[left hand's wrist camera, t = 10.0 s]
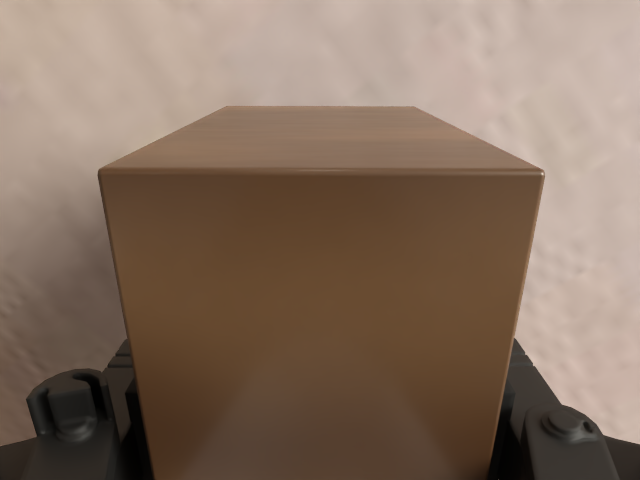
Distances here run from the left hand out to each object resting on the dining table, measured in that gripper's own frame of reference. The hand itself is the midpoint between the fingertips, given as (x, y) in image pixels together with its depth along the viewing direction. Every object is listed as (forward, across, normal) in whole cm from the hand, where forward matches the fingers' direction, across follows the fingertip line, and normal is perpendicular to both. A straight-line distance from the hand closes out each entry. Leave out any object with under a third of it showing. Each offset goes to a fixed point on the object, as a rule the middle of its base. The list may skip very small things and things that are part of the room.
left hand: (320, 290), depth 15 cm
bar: (+1, 0, -26) cm, 26 cm away
